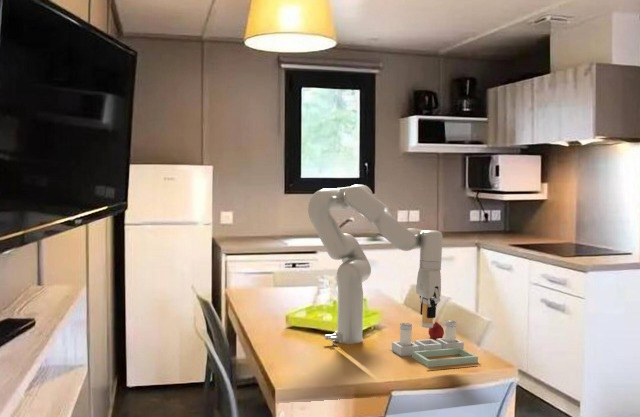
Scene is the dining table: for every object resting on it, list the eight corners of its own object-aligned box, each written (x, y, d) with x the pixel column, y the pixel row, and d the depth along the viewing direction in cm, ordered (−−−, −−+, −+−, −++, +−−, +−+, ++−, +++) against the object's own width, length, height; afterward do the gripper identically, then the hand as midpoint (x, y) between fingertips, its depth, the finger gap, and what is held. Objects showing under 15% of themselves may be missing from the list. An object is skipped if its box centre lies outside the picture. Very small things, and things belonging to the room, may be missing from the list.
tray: (427, 371, 200) (428, 360, 200) (411, 361, 210) (412, 351, 210) (477, 366, 206) (478, 356, 206) (459, 357, 216) (460, 347, 216)
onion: (444, 340, 239) (445, 320, 238) (442, 344, 233) (443, 323, 233) (429, 338, 241) (430, 318, 240) (427, 342, 235) (427, 321, 235)
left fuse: (402, 354, 213) (403, 326, 213) (397, 351, 217) (398, 323, 217) (413, 353, 215) (413, 325, 214) (407, 350, 218) (408, 322, 218)
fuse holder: (400, 361, 210) (400, 348, 210) (389, 353, 219) (389, 341, 219) (466, 355, 219) (466, 343, 219) (452, 348, 227) (453, 336, 227)
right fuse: (447, 350, 219) (448, 323, 219) (441, 347, 223) (442, 320, 222) (457, 349, 220) (458, 322, 220) (451, 346, 224) (452, 319, 224)
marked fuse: (425, 328, 216) (426, 299, 215) (419, 325, 220) (420, 297, 219) (435, 327, 217) (436, 299, 217) (429, 324, 221) (430, 297, 220)
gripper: (409, 261, 224) (407, 311, 225) (432, 269, 208) (430, 322, 209) (427, 261, 226) (425, 310, 227) (452, 268, 211) (449, 321, 212)
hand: (427, 315), depth 218 cm, fingers closed on marked fuse, 4 cm apart
